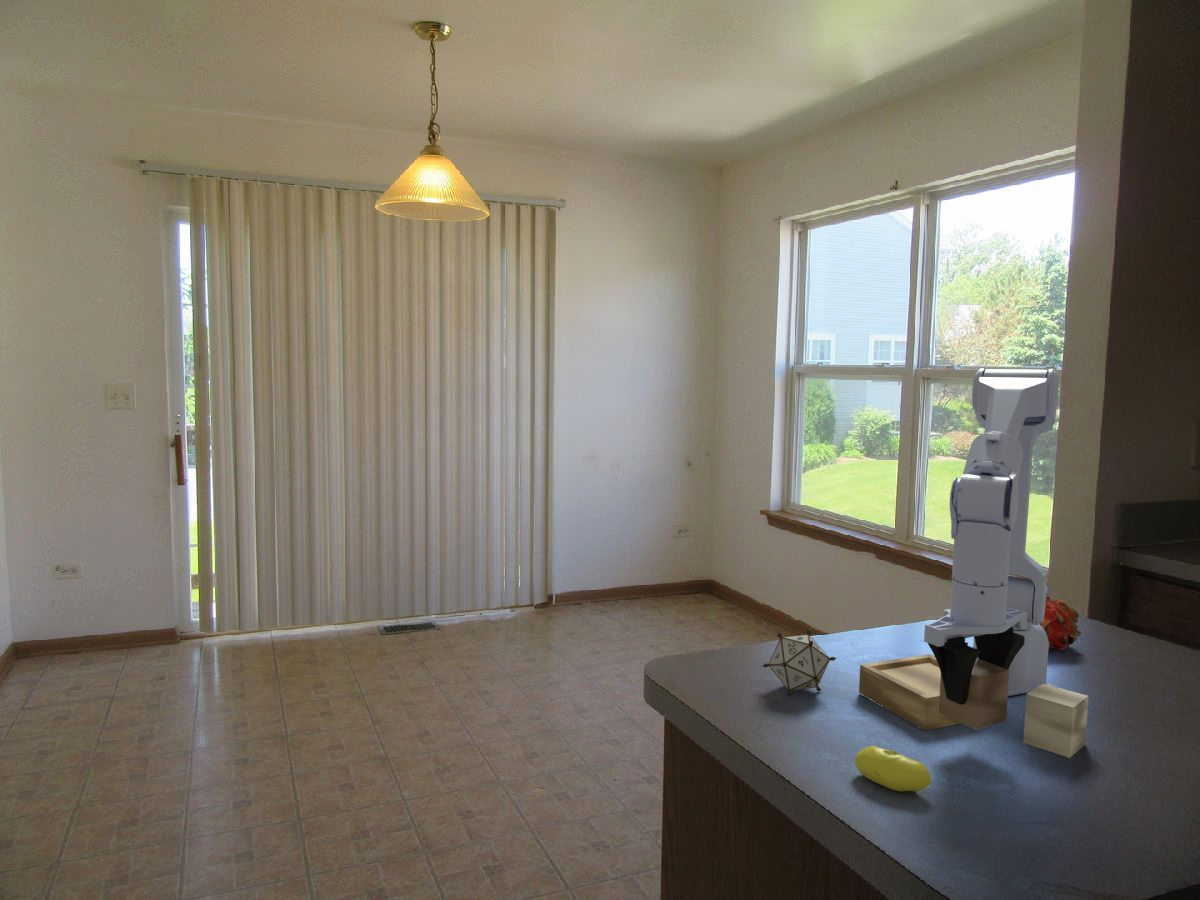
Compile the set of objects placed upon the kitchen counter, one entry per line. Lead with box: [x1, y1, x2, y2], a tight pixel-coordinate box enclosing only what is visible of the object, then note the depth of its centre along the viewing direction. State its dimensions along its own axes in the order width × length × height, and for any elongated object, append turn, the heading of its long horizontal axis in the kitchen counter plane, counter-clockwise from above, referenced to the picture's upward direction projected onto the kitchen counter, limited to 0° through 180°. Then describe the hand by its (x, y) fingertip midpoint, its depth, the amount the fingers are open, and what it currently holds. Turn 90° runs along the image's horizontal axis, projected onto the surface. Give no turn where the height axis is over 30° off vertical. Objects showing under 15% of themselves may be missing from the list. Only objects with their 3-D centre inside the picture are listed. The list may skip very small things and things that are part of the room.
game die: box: [761, 628, 837, 697], centre depth 110 cm, size 9×8×10 cm
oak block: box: [858, 653, 963, 731], centre depth 106 cm, size 12×12×4 cm
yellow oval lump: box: [854, 745, 932, 792], centre depth 85 cm, size 4×8×4 cm, turn 44°
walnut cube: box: [939, 658, 1009, 731], centre depth 92 cm, size 5×5×6 cm
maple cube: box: [1022, 684, 1089, 759], centre depth 95 cm, size 5×5×6 cm
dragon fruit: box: [1040, 596, 1082, 651], centre depth 129 cm, size 8×8×12 cm
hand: (972, 696), depth 93 cm, fingers closed on walnut cube, 5 cm apart
